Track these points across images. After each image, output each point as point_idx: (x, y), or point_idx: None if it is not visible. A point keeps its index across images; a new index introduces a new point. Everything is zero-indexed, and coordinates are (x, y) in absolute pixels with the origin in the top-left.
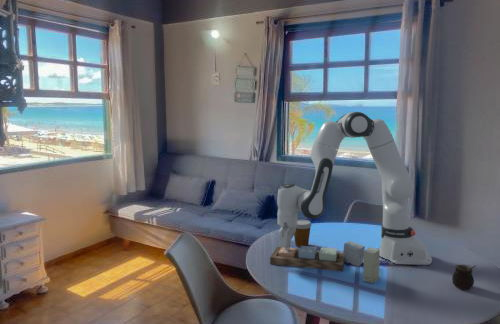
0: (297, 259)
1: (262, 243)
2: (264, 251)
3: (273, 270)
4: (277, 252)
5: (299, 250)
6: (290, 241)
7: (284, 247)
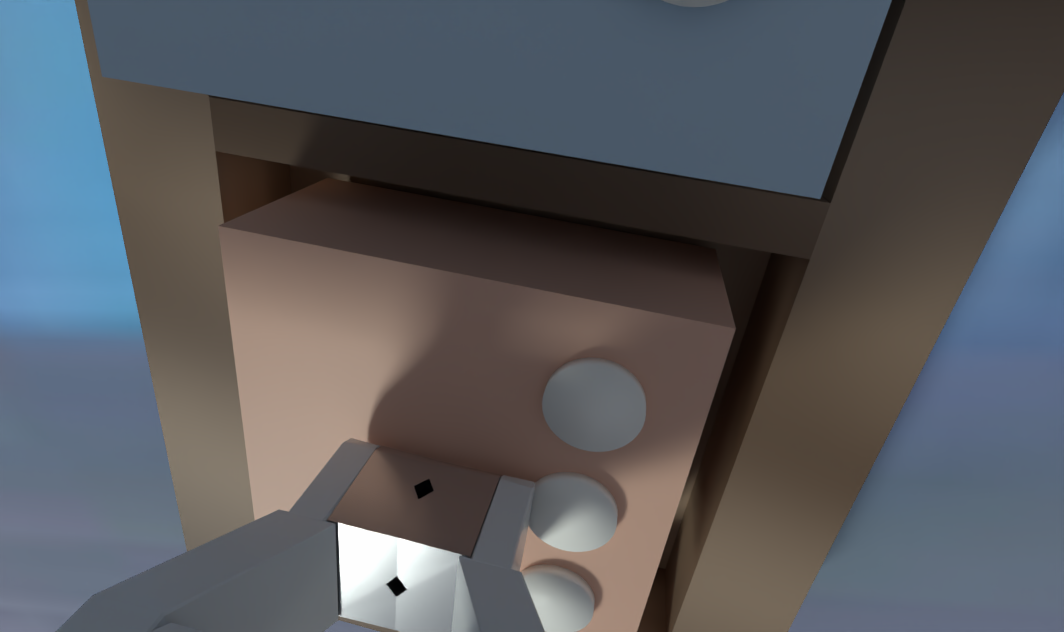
0: (962, 172)
1: (42, 624)
2: None
3: (1041, 590)
4: None
5: (709, 144)
6: (170, 609)
7: None
